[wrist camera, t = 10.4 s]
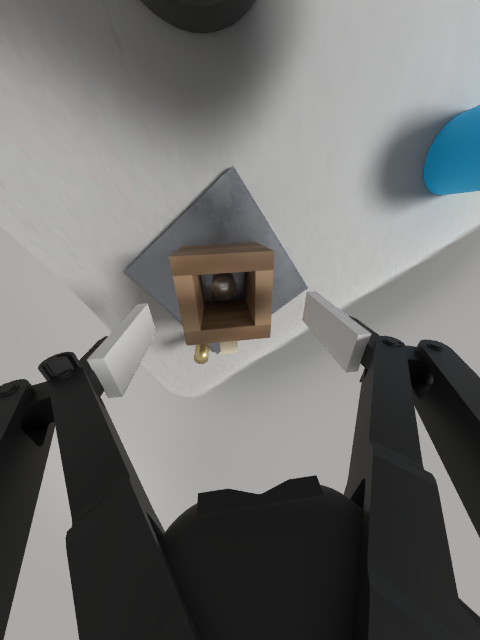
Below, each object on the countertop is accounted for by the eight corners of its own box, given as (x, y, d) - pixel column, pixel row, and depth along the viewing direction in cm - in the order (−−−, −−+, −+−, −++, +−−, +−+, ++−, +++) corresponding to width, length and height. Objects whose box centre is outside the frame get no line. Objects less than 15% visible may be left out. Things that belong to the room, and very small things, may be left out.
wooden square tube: (182, 246, 23) (168, 256, 16) (257, 242, 24) (274, 250, 17) (198, 340, 30) (193, 376, 23) (256, 335, 31) (268, 368, 24)
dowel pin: (195, 333, 29) (191, 358, 24) (203, 327, 29) (201, 350, 24) (203, 340, 30) (200, 365, 25) (211, 334, 30) (211, 358, 24)
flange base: (126, 270, 25) (110, 279, 21) (232, 167, 21) (236, 155, 17) (217, 351, 32) (217, 368, 28) (305, 286, 29) (319, 296, 25)
